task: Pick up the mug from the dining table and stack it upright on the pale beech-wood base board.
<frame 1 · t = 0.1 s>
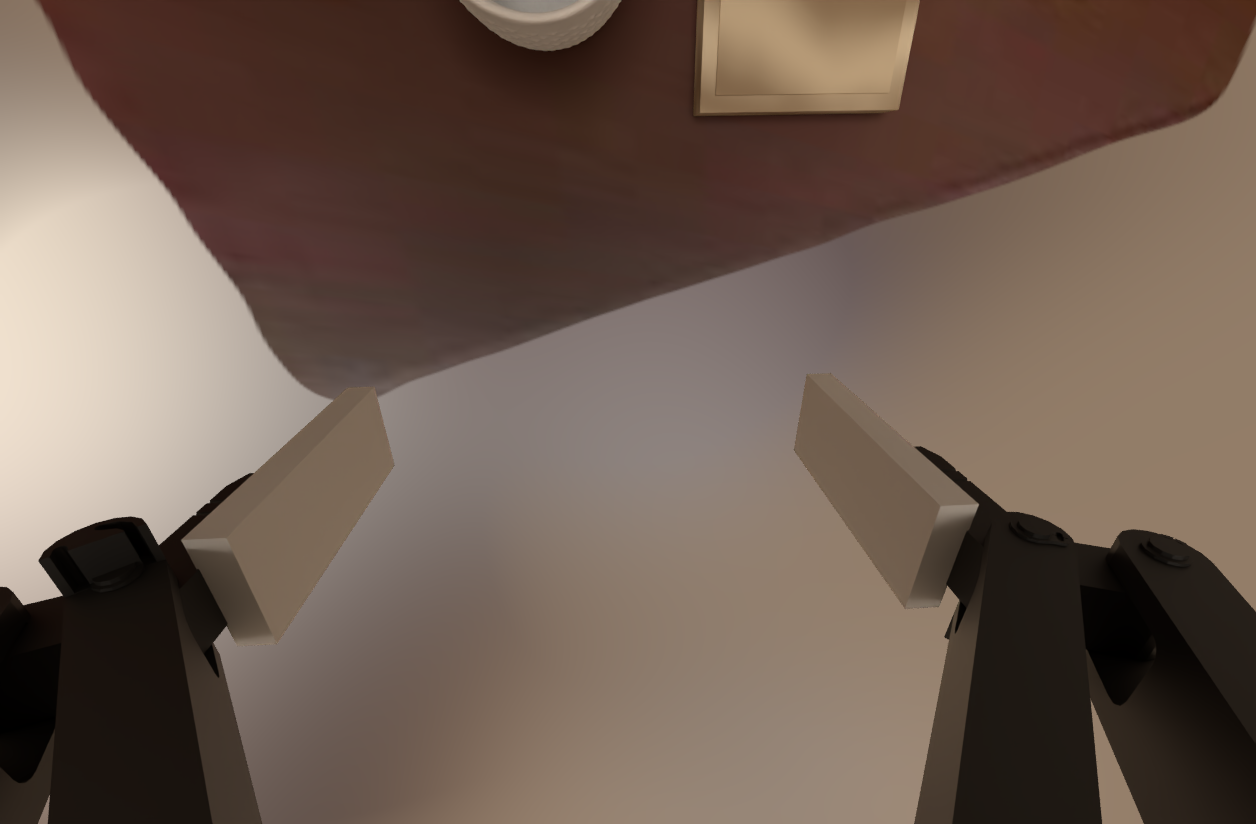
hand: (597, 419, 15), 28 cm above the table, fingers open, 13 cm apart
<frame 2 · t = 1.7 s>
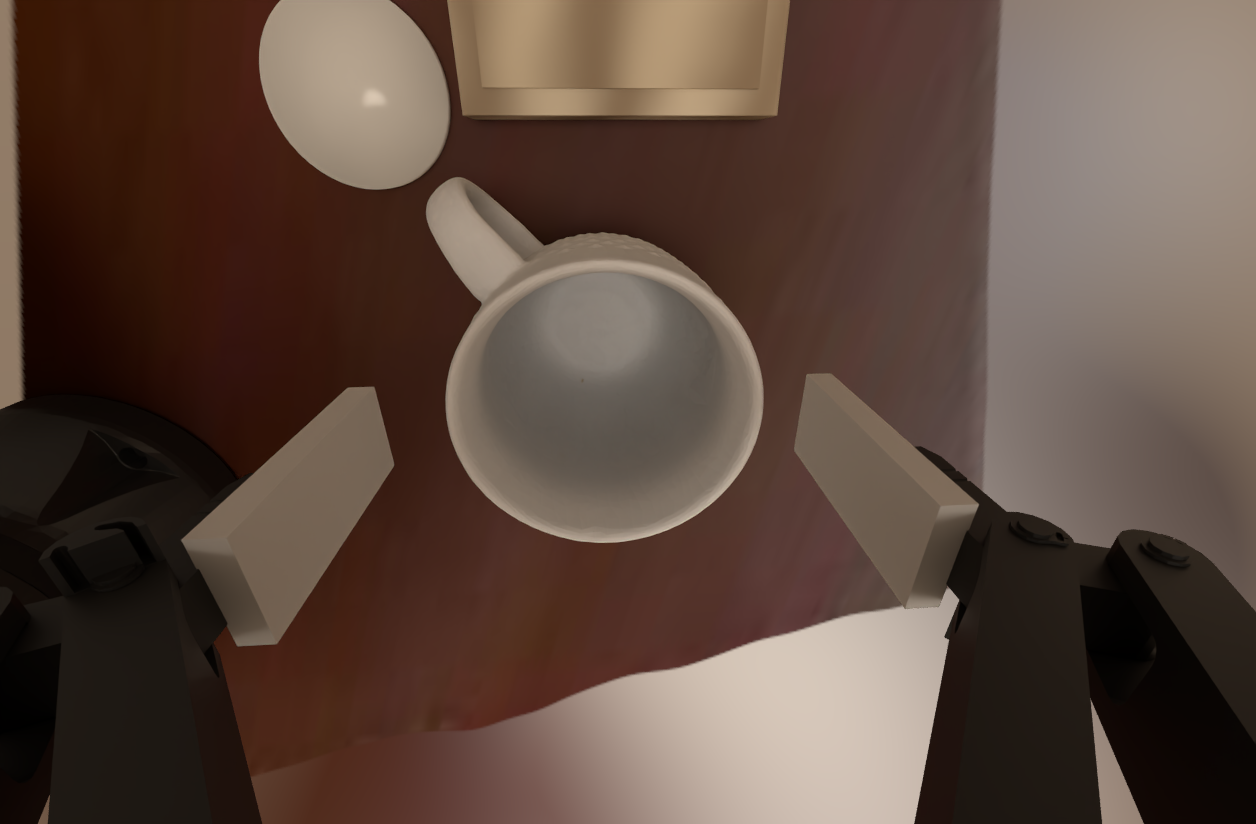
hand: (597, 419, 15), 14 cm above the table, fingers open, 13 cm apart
mug: (586, 302, 28), on the table
white oval dome: (364, 95, 23), on the table
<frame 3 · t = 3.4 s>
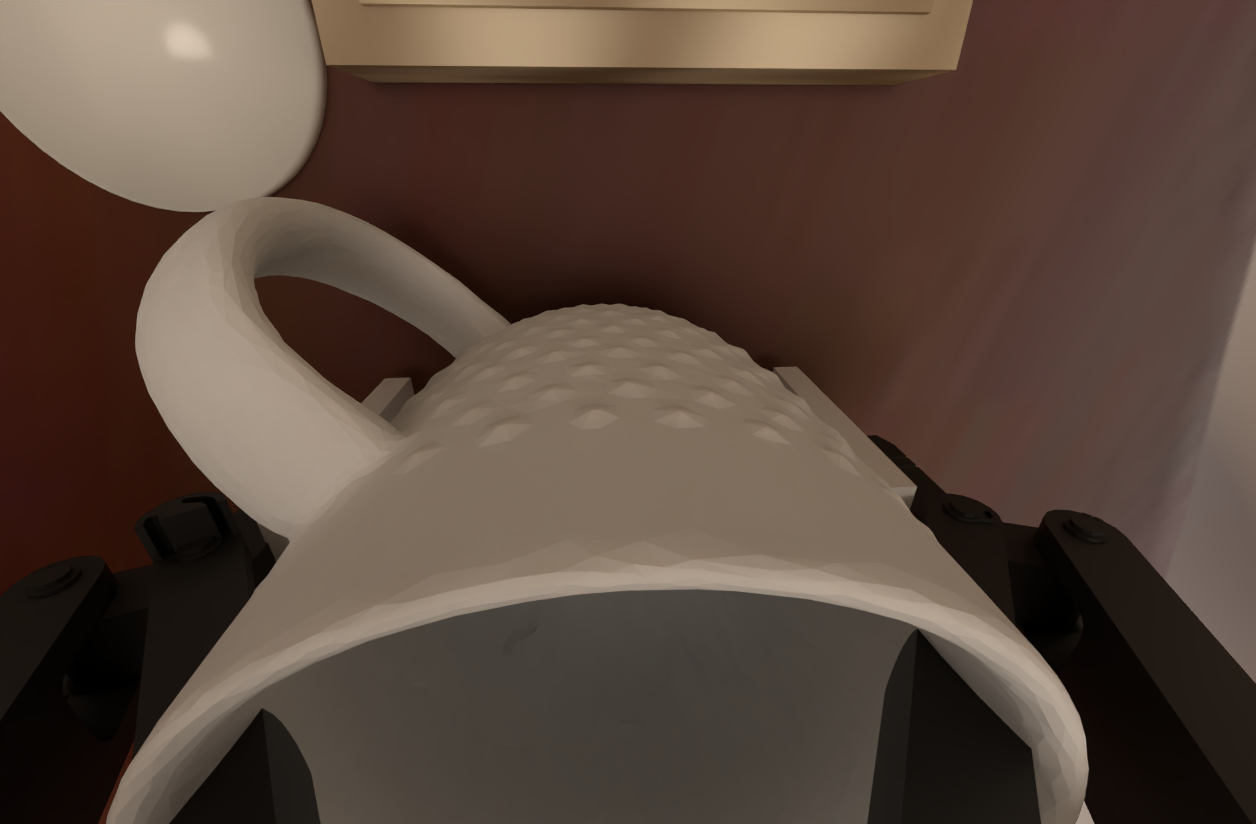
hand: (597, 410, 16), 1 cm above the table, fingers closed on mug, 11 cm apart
mug: (580, 391, 17), on the table, touching gripper
white oval dome: (160, 35, 12), on the table
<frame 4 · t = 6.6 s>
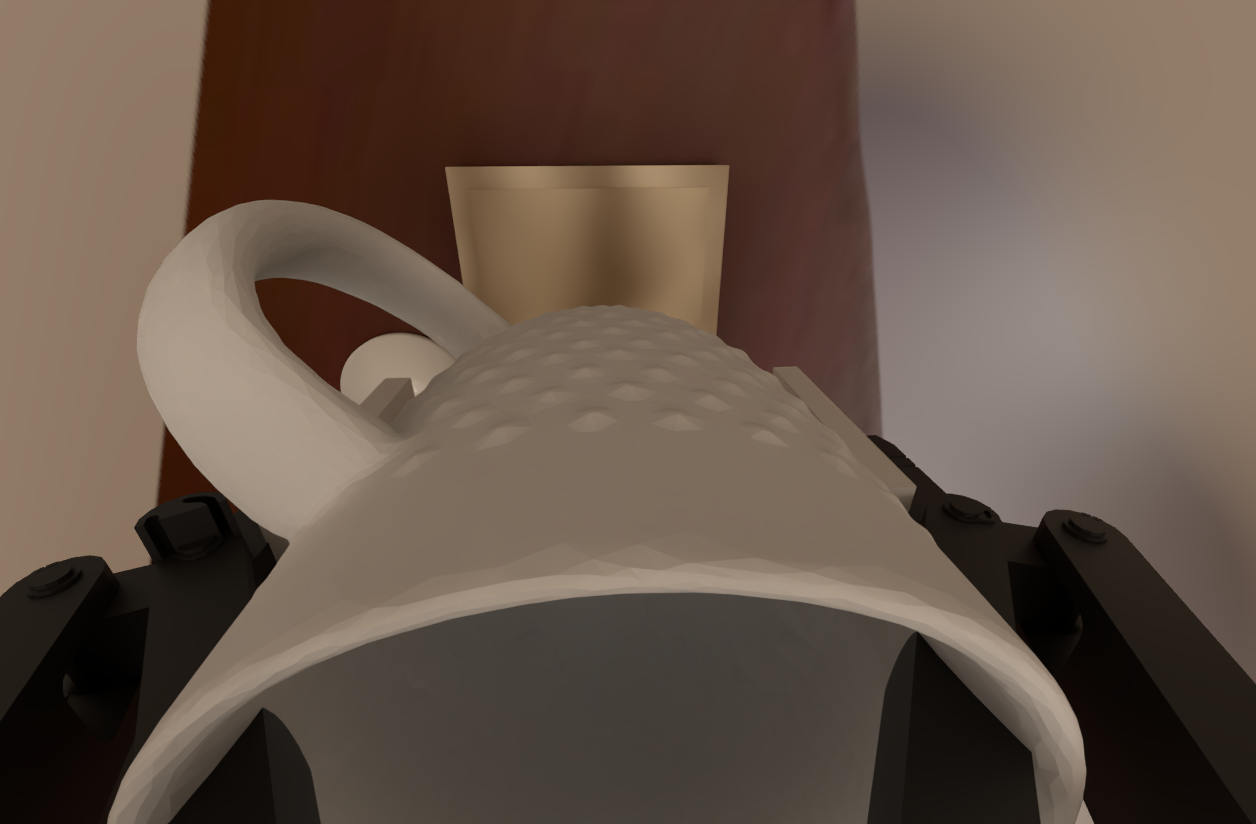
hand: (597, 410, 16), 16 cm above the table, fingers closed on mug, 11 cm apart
base: (594, 295, 30), on the table
mug: (580, 392, 17), point 14 cm above the table, touching gripper
white oval dome: (412, 390, 32), on the table
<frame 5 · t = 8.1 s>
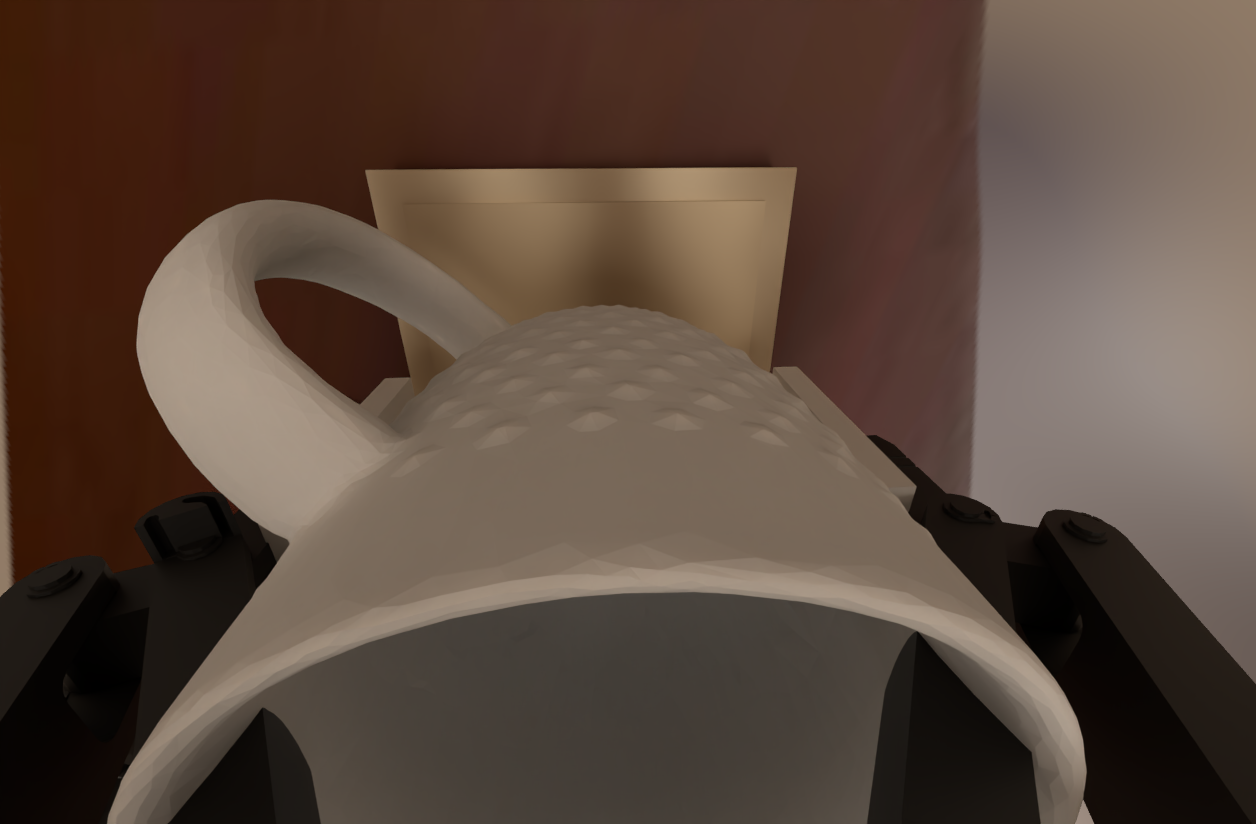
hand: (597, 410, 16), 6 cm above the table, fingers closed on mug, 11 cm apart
base: (593, 348, 21), on the table
mug: (580, 392, 17), point 5 cm above the table, touching gripper
when the fingers open (5 cm above the table, at t = 9.4 s): mug moves 1 cm, resting on base.
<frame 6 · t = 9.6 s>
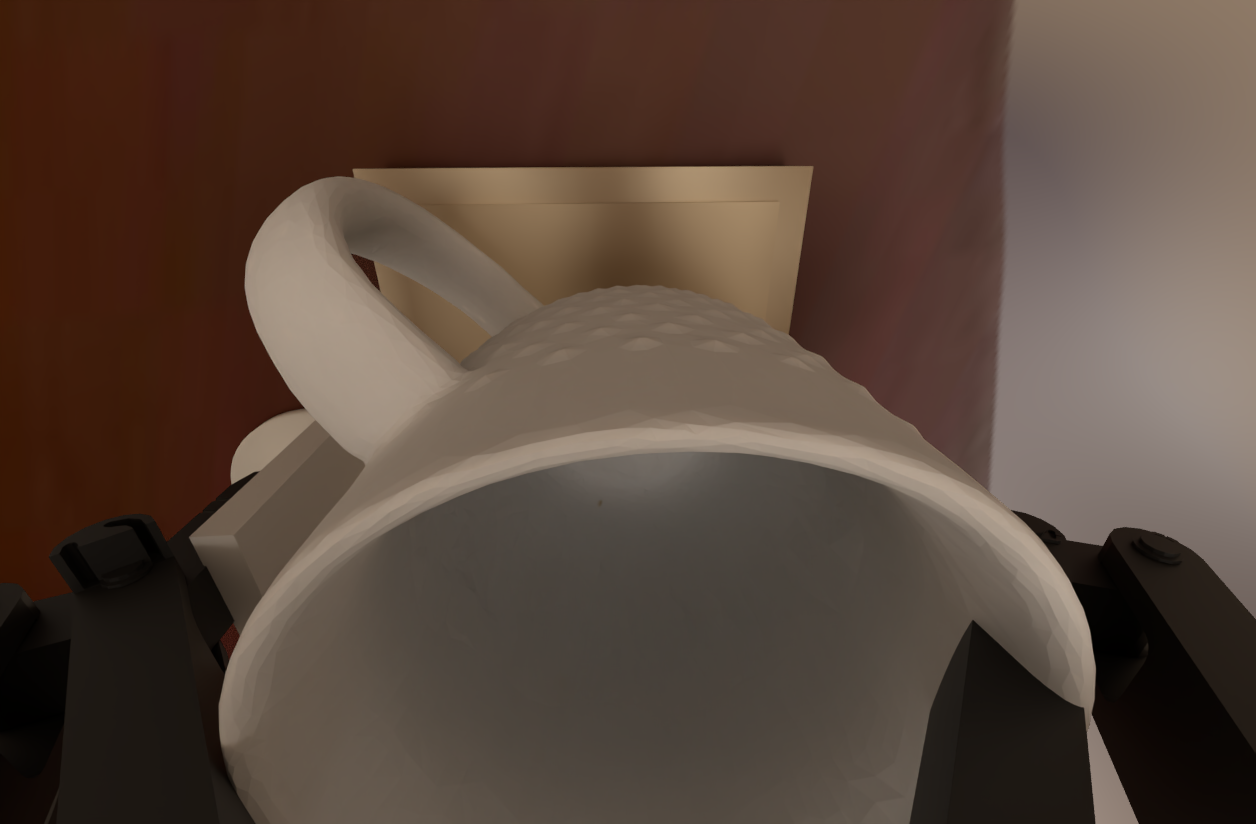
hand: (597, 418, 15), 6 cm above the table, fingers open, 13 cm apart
base: (596, 355, 20), on the table
mug: (608, 380, 18), point 3 cm above the table, touching base, gripper
white oval dome: (340, 482, 23), on the table
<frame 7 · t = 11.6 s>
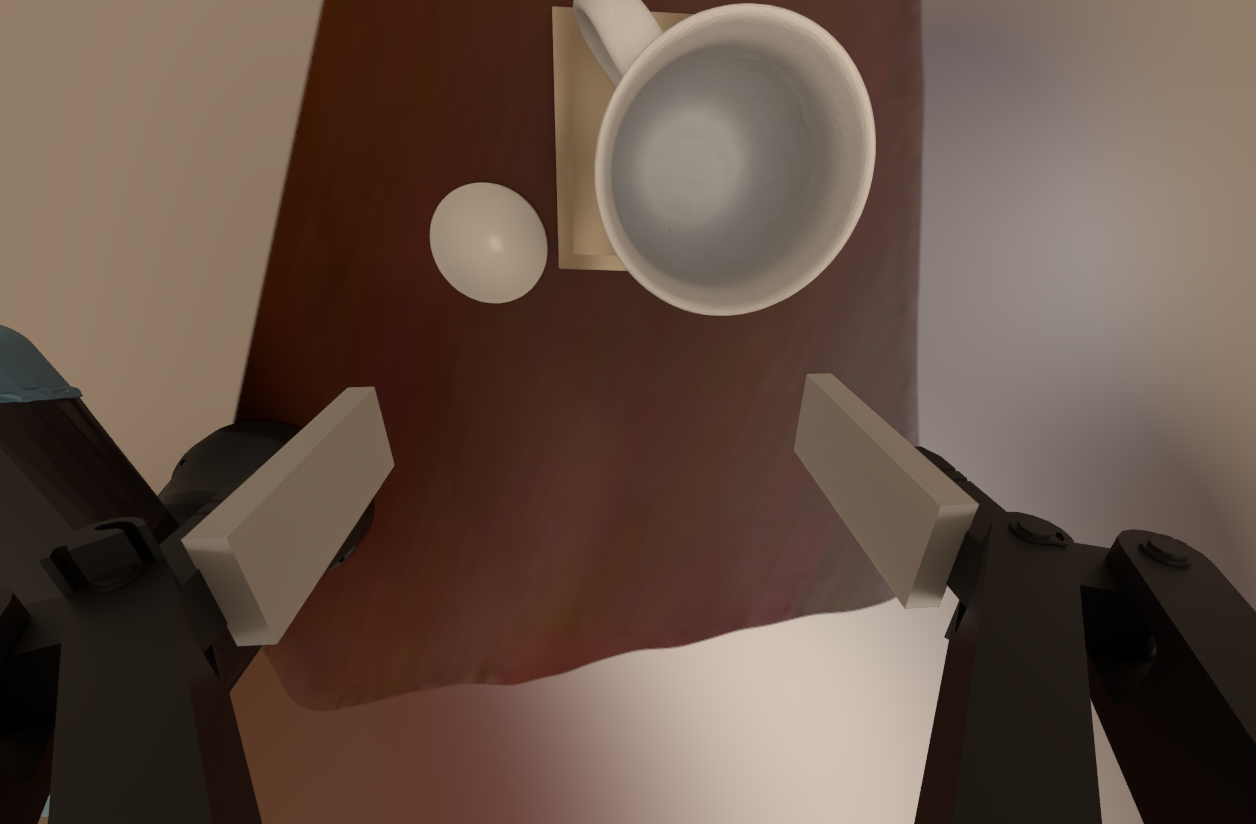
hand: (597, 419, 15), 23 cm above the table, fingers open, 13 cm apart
base: (666, 156, 33), on the table
mug: (677, 156, 30), point 2 cm above the table, touching base
white oval dome: (492, 244, 35), on the table
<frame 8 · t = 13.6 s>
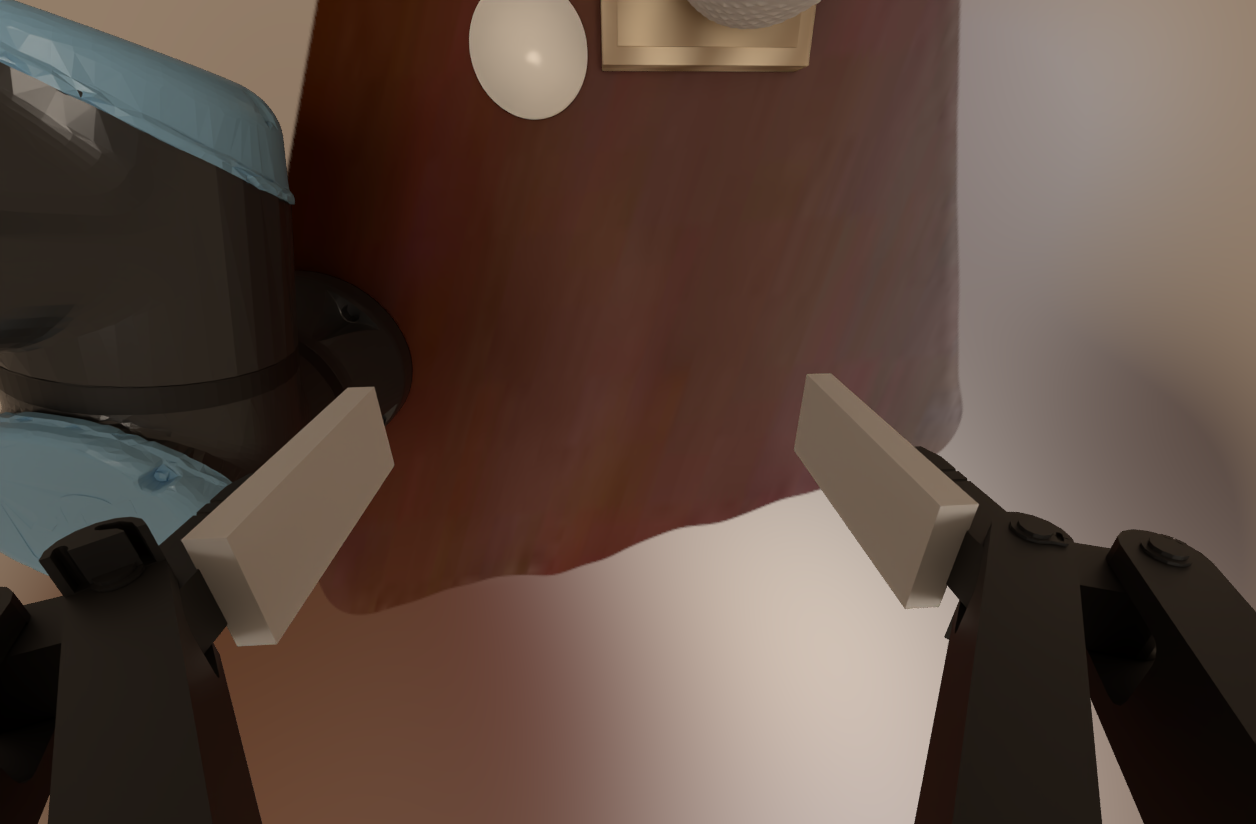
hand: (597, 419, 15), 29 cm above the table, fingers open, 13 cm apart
white oval dome: (530, 54, 35), on the table
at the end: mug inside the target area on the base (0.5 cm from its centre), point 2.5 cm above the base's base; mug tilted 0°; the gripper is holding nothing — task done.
